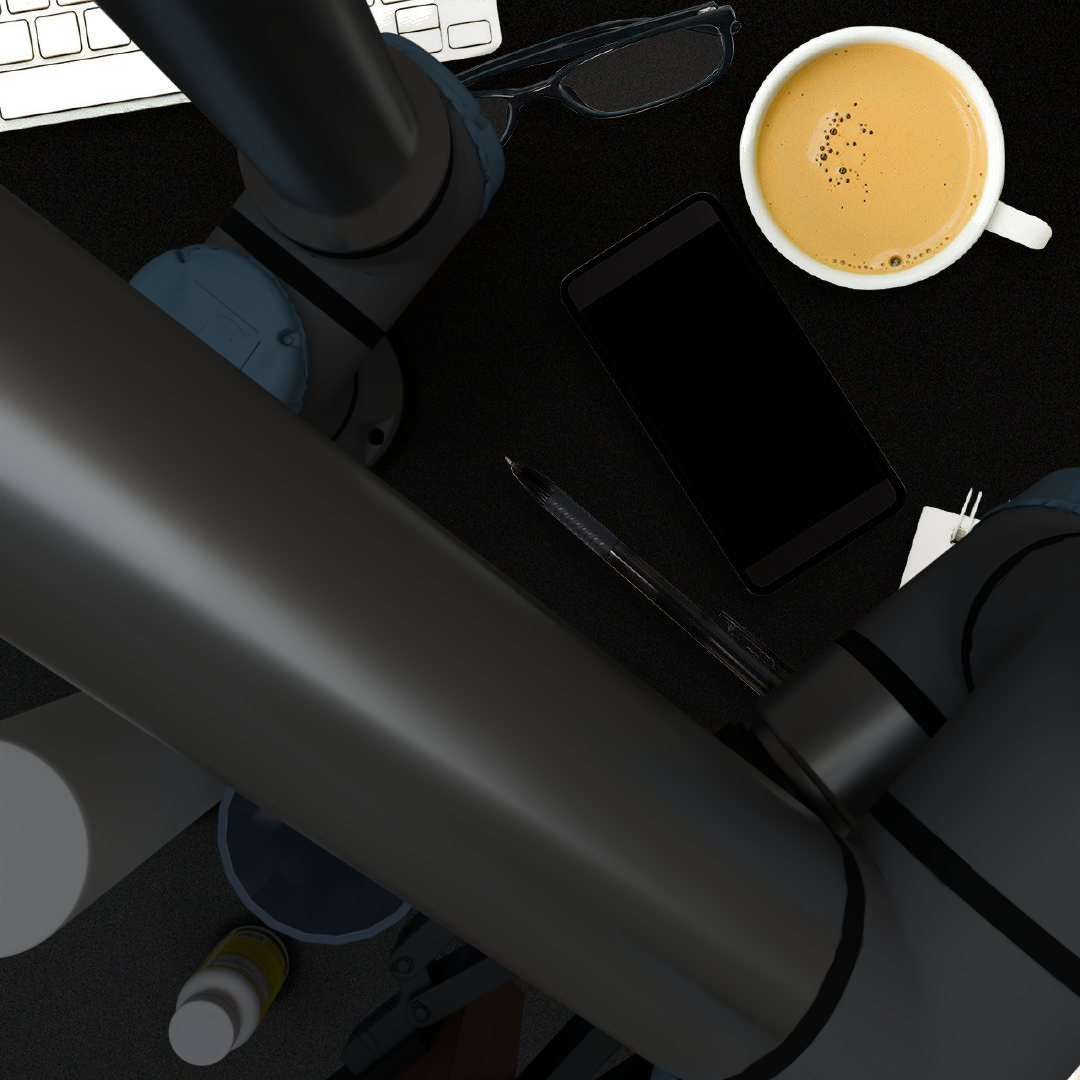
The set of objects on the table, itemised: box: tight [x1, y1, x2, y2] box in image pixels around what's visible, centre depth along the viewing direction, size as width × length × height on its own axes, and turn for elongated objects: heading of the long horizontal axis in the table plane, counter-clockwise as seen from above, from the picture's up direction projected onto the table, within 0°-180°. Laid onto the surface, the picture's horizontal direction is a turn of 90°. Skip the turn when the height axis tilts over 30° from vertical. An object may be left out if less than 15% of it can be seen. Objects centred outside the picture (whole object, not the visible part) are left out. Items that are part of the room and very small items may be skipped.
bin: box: [216, 786, 413, 946], centre depth 69 cm, size 14×14×16 cm
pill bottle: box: [168, 924, 290, 1067], centre depth 73 cm, size 6×6×11 cm
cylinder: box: [0, 690, 227, 959], centre depth 66 cm, size 12×12×25 cm
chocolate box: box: [394, 980, 526, 1080], centre depth 38 cm, size 5×3×11 cm, turn 129°
